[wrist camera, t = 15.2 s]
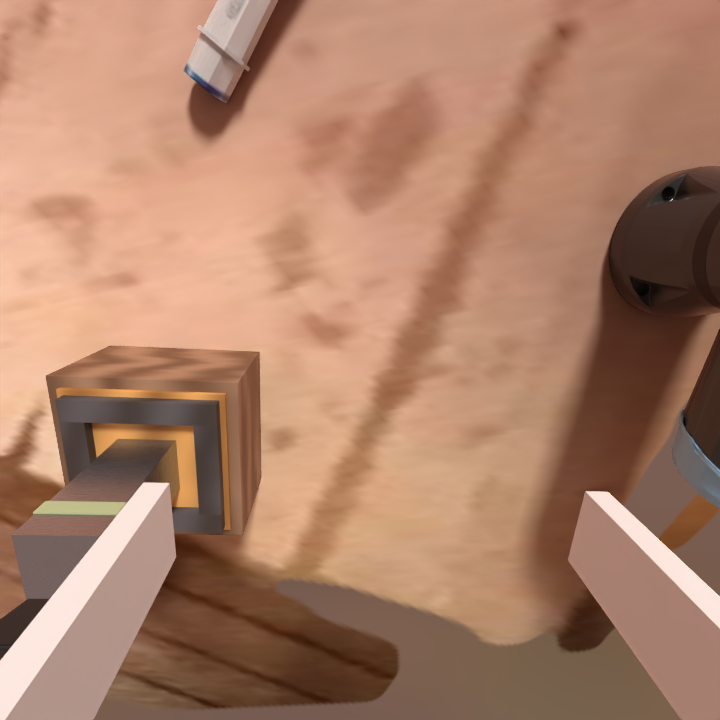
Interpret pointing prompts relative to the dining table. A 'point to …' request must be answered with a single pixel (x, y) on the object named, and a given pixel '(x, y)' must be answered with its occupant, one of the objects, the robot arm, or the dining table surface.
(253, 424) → the walnut stand
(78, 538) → the steel column
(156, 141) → the dining table surface
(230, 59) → the white plastic rod
